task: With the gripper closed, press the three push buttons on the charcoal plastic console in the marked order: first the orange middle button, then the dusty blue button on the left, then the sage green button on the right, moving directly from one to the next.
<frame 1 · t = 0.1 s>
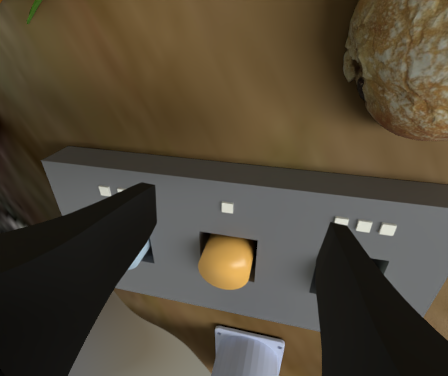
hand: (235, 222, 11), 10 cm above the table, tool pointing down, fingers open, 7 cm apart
blue button: (126, 240, 24), point 3 cm above the table, slide at 0.0 cm
bread roll: (447, 26, 14), on the table
button console: (234, 233, 25), on the table
orange button: (227, 257, 22), point 3 cm above the table, slide at 0.0 cm
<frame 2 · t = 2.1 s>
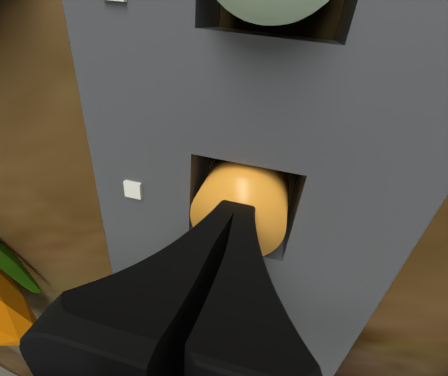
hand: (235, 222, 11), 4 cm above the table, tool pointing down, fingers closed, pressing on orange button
button console: (250, 179, 14), on the table
orange button: (242, 202, 13), point 2 cm above the table, slide at 0.7 cm, touching gripper
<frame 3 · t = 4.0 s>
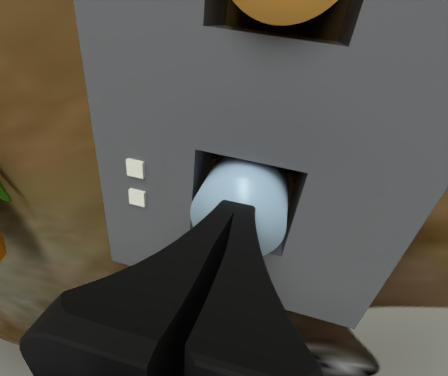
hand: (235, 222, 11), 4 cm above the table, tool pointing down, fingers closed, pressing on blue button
blue button: (242, 202, 13), point 3 cm above the table, slide at 0.4 cm, touching gripper
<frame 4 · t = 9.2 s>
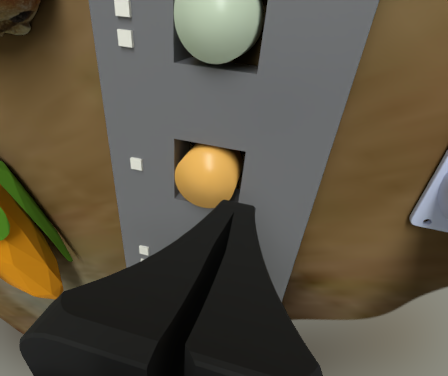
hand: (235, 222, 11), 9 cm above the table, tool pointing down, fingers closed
corn: (28, 205, 29), on the table
button console: (218, 158, 21), on the table
green button: (221, 17, 14), point 2 cm above the table, slide at 0.8 cm
orange button: (210, 171, 19), point 2 cm above the table, slide at 0.8 cm
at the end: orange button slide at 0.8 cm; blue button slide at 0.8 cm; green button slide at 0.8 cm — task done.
